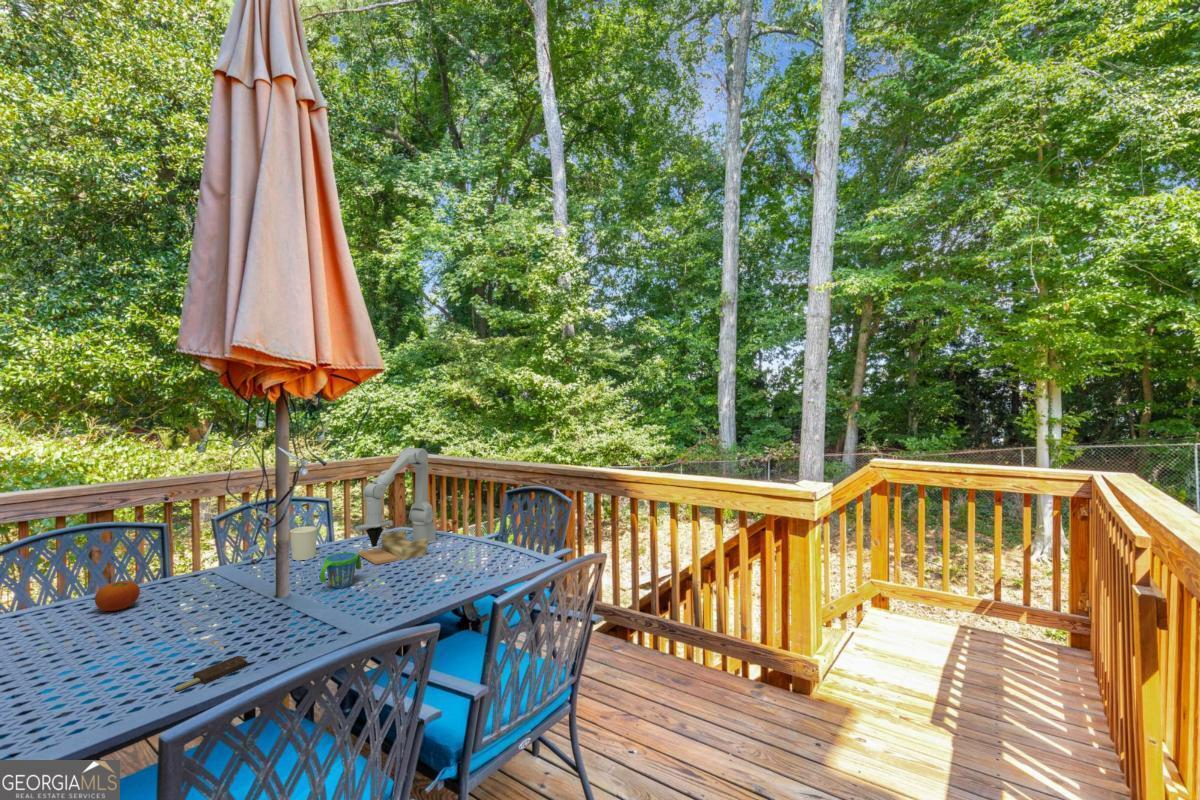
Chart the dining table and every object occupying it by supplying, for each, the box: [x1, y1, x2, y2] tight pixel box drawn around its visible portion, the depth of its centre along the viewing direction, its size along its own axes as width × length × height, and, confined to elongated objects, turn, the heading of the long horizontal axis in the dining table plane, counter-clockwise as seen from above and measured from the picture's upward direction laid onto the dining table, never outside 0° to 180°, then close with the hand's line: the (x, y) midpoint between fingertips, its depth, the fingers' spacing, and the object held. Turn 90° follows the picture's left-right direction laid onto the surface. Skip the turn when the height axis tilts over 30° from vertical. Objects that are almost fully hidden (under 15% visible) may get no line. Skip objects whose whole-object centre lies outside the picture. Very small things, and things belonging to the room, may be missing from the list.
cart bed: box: [381, 529, 429, 561], centre depth 224 cm, size 10×21×7 cm, turn 45°
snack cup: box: [319, 551, 362, 589], centre depth 186 cm, size 16×10×10 cm
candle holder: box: [289, 525, 318, 560], centre depth 215 cm, size 10×10×12 cm
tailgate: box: [357, 547, 399, 565], centre depth 216 cm, size 1×18×9 cm
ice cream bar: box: [174, 655, 249, 692], centre depth 126 cm, size 5×2×15 cm
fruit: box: [94, 580, 141, 612], centre depth 164 cm, size 11×10×8 cm
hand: (374, 546), depth 215 cm, fingers closed
